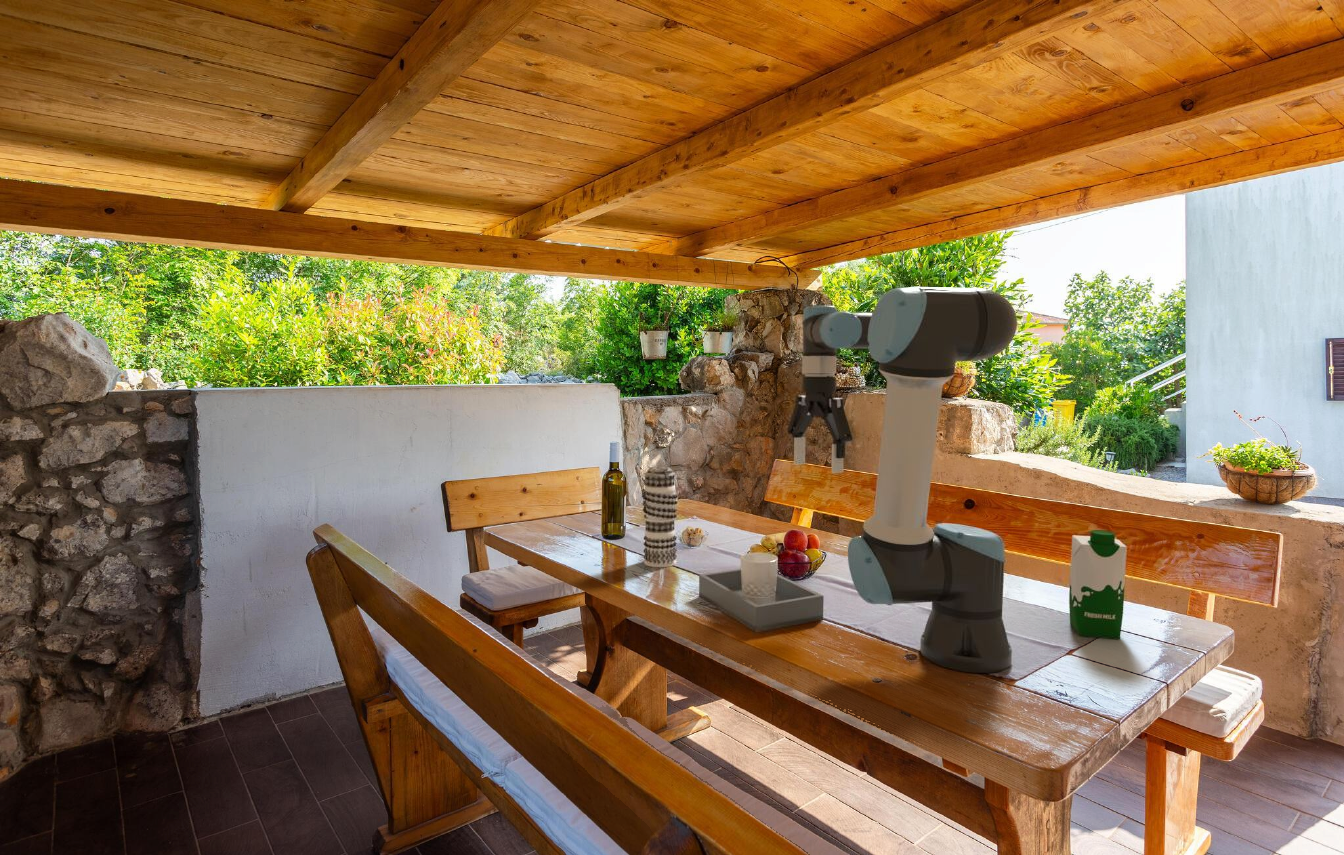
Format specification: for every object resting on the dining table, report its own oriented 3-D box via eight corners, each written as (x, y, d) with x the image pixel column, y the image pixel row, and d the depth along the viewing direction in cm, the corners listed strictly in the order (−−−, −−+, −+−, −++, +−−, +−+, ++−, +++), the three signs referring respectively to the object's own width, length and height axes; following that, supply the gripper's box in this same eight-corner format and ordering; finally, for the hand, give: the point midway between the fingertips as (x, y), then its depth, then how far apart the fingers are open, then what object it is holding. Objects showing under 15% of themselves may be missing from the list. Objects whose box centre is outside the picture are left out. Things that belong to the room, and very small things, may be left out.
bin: (823, 619, 150) (823, 595, 150) (755, 632, 143) (756, 607, 143) (760, 586, 172) (760, 565, 171) (699, 596, 165) (699, 574, 164)
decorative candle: (636, 560, 194) (635, 466, 192) (667, 556, 199) (667, 464, 196) (652, 569, 186) (651, 471, 184) (684, 564, 191) (683, 468, 188)
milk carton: (1075, 637, 140) (1080, 533, 138) (1063, 620, 149) (1068, 523, 147) (1127, 641, 138) (1132, 536, 136) (1112, 625, 146) (1117, 526, 145)
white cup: (776, 597, 161) (776, 552, 160) (778, 609, 153) (778, 562, 152) (740, 596, 162) (740, 552, 161) (740, 608, 154) (740, 562, 153)
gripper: (870, 376, 157) (868, 475, 159) (798, 374, 179) (797, 460, 181) (842, 376, 153) (840, 477, 155) (773, 374, 175) (772, 462, 177)
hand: (817, 468), depth 168 cm, fingers open, 13 cm apart
